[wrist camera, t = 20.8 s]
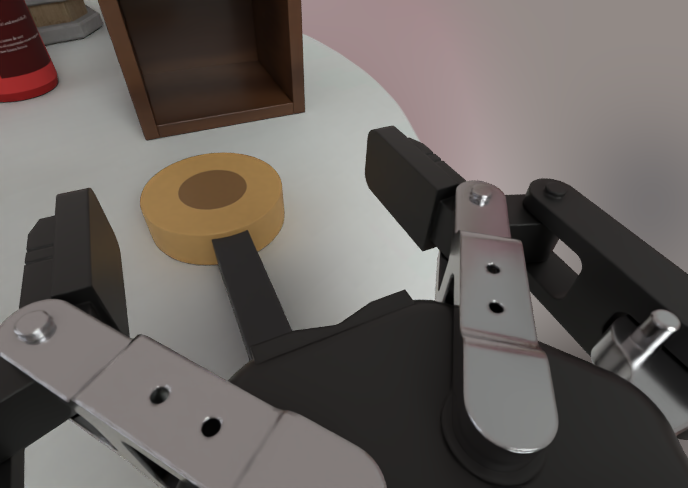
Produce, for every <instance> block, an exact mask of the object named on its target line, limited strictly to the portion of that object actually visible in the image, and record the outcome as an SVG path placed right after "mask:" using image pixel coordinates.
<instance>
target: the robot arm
mask: <svg viewBox="0 0 688 488" xmlns="http://www.w3.org/2000/svg"><path fill="white" fill-rule="evenodd" d="M365 178H366V182H367V185H368V187H369V189H370V190H371V191H372V192H373V194H374V195H375V196H376V197H377V198H378V199H379V201H380V202H381V203H382V204H383V205H384V207H385V208H386V209H387V210H388V211H389V212H390V214H391V215H392V216H393V217H394V218H395V219H396V221H397V222H398V223H399V224H400V225H401V227H402V228H403V229H404V230H405V231H406V232H407V234H408V235H409V236H410V237H411V238H412V240H413V241H414V242H415V243H416V244H417V245H418V247H419V248H420V249H421V250H422V251H425V250H428V249H431V248H434V247H437V248H438V249H439V253H438V257H437V271H436V287H435V301H433V300H412V298H411V297H410V296H409V294H408V293H407V292H406V290H402V291H400V292H397V293H394V294H391V295H389V296H386V297H383V298H381V299H378V300H375V301H372V302H370V303H369V304H367V305H366V306H364V307H363V308H361V309H360V310H358V311H357V312H356V313H354V314H353V315H351V316H350V317H348V318H347V319H345V320H344V321H342V322H341V323H339V324H337V325H333V326H325V327H318V328H310V329H303V330H295V331H290V332H288V333H285V334H282V335H280V336H277V337H274V338H271V339H269V340H266V341H263V342H260V343H258V344H255V345H252V346H250V349H251V353H252V357H253V359H252V360H251V361H250V362H248V363H247V364H245V365H244V366H243V367H242V368H240V369H239V370H238V371H237V372H236V373H235V374H234V375H233V376H232V377H231V378H230V379H229V380H228V381H226V380H225V379H223V378H221V377H219V376H218V375H216V374H214V373H212V372H210V371H209V370H207V369H205V368H203V367H202V366H200V365H198V364H196V363H194V362H193V361H191V360H189V359H187V358H186V357H184V356H182V355H180V354H178V353H177V352H175V351H173V350H171V349H170V348H168V347H166V346H164V345H162V344H161V343H159V342H157V341H155V340H153V339H152V338H150V337H148V336H145V335H142V334H139V335H137V336H136V337H135V338H134V339H132V338H130V336H129V327H128V317H127V308H126V299H125V289H124V280H123V271H122V262H121V253H120V249H119V245H118V242H117V239H116V236H115V234H114V232H113V230H112V228H111V226H110V224H109V222H108V220H107V217H106V215H105V213H104V211H103V209H102V207H101V205H100V203H99V201H98V199H97V197H96V195H95V193H94V192H93V190H92V189H91V188H86V189H81V190H76V191H72V192H67V193H62V194H58V195H57V196H56V208H55V216H51V217H47V218H42V219H39V221H38V222H37V223H36V225H35V226H34V227H33V229H32V230H31V231H30V233H29V234H28V240H27V248H26V250H27V253H26V257H25V264H26V265H24V273H23V281H22V289H21V297H20V305H19V310H17V311H16V312H14V313H13V314H12V315H10V316H9V317H8V318H7V319H6V320H5V321H4V322H3V323H2V324H1V325H0V488H24V452H25V448H26V447H27V446H29V445H30V444H32V443H33V442H35V441H36V440H38V439H39V438H41V437H42V436H44V435H45V434H47V433H48V432H50V431H51V430H53V429H54V428H56V427H57V426H59V425H60V424H62V423H63V422H65V421H66V420H68V419H69V420H70V421H71V422H73V423H74V424H76V425H77V426H79V427H80V428H81V429H83V430H84V431H86V432H87V433H88V434H90V435H91V436H93V437H94V438H95V439H97V440H98V441H100V442H101V443H102V444H104V445H105V446H107V447H108V448H110V449H111V450H112V451H114V452H115V453H117V454H118V455H119V456H121V457H122V458H124V459H125V460H126V461H127V462H129V463H130V464H131V465H132V466H134V467H135V468H136V469H137V470H138V471H140V472H141V473H142V474H143V475H145V476H146V477H147V478H148V479H150V480H151V481H152V482H154V483H155V484H157V485H158V486H159V487H161V488H688V458H687V456H686V454H685V453H684V451H683V449H682V447H681V445H680V443H679V440H678V439H683V440H688V274H687V273H686V272H684V271H683V270H682V269H680V268H679V267H678V266H676V265H675V264H674V263H672V262H671V261H670V260H668V259H667V258H666V257H664V256H663V255H662V254H660V253H659V252H658V251H656V250H655V249H654V248H652V247H651V246H650V245H648V244H647V243H646V242H644V241H643V240H642V239H640V238H639V237H638V236H636V235H635V234H634V233H632V232H631V231H630V230H628V229H627V228H626V227H624V226H623V225H622V224H620V223H619V222H618V221H616V220H615V219H614V218H612V217H611V216H610V215H608V214H607V213H606V212H604V211H603V210H601V208H599V207H598V206H597V205H595V204H594V203H593V202H591V201H590V200H589V199H587V198H586V197H584V196H583V195H582V194H581V193H579V192H578V191H577V190H575V189H574V188H573V187H571V186H570V185H568V184H565V183H563V182H561V181H557V180H554V179H537V180H535V181H533V182H532V183H531V184H530V186H529V188H528V190H527V193H526V194H523V195H504V193H503V192H502V191H501V190H500V189H499V188H497V187H496V186H494V185H492V184H489V183H486V182H483V181H466V180H465V179H464V178H462V177H461V176H460V175H459V174H458V173H457V172H455V171H454V170H453V169H452V168H451V167H450V166H448V165H447V164H446V163H445V162H444V161H441V159H440V158H439V157H438V156H437V155H436V154H433V152H432V151H431V150H430V149H429V148H428V147H426V146H425V145H424V144H423V143H420V142H418V141H416V140H414V139H412V138H407V137H406V136H405V135H404V134H403V133H402V132H400V131H399V130H398V129H397V128H396V127H395V126H388V127H383V128H378V129H373V130H371V131H370V132H369V134H368V140H367V152H366V165H365ZM559 239H561V240H562V241H563V242H564V243H565V244H566V245H567V246H568V247H570V248H571V249H572V250H573V251H574V252H575V253H576V254H577V255H578V256H579V258H580V259H581V262H582V270H581V273H580V274H579V275H578V274H577V273H575V272H574V271H573V270H572V269H571V268H570V267H569V266H568V265H567V264H566V263H565V262H564V261H563V260H562V259H560V258H559V257H558V256H557V255H556V254H555V253H554V252H553V249H554V247H555V245H556V243H557V242H558V240H559ZM530 292H531V293H532V294H533V295H534V296H535V297H536V298H537V299H538V300H539V301H540V303H541V304H542V305H544V307H545V308H546V309H547V310H548V311H549V312H550V313H551V314H552V315H553V317H554V318H555V319H556V320H557V321H558V322H559V323H560V324H561V325H562V326H563V327H564V328H565V330H567V332H568V333H569V334H570V335H571V336H572V337H573V338H574V339H575V340H576V341H577V343H578V344H580V346H581V347H582V348H583V349H584V350H585V351H586V352H587V353H588V354H589V355H590V357H591V359H592V362H593V364H592V363H590V362H587V361H585V360H582V359H580V358H578V357H575V356H573V355H571V354H568V353H566V352H563V351H561V350H559V349H556V348H554V347H551V346H549V345H547V344H544V343H542V342H539V341H538V340H537V334H536V327H535V321H534V315H533V308H532V302H531V297H530Z"/></svg>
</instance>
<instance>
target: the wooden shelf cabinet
mask: <svg viewBox="0 0 688 488" xmlns="http://www.w3.org/2000/svg"><path fill="white" fill-rule="evenodd" d="M98 3H99V5H100V8H101V11H102V14H103V17H104V20H105V23H106V26H107V29H108V32H109V35H110V37H111V40H112V43H113V46H114V49H115V52H116V55H117V58H118V61H119V64H120V66H121V69H122V72H123V75H124V78H125V81H126V84H127V87H128V90H129V93H130V96H131V98H132V101H133V104H134V107H135V110H136V113H137V116H138V119H139V122H140V125H141V128H142V130H143V133H144V136H145V139H146V140H150V139H156V138H160V137H167V136H172V135H178V134H184V133H189V132H195V131H200V130H206V129H212V128H217V127H223V126H229V125H234V124H240V123H245V122H251V121H257V120H262V119H268V118H273V117H279V116H285V115H290V114H296V113H302V112H305V97H304V69H303V40H302V12H301V0H98Z"/></svg>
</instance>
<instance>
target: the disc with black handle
mask: <svg viewBox="0 0 688 488" xmlns="http://www.w3.org/2000/svg"><path fill="white" fill-rule="evenodd" d="M140 207H141V210H142V213H143V215H144V218H145V220H146V223H147V225H148V228H149V230H150V232H151V235H152V237H153V240H154V242H155V243H156V245H157V246H158V247H159V249H160V250H161V251H163V252H164V253H165V254H166V255H168V256H170V257H172V258H173V259H176V260H179V261H181V262H185V263H190V264H197V265H217V264H218V266H219V269H220V272H221V275H222V278H223V281H224V284H225V287H226V290H227V293H228V296H229V299H230V302H231V305H232V308H233V311H234V314H235V317H236V320H237V323H238V326H239V329H240V332H241V335H242V338H243V341H244V344H245V347H246V350H247V353H248V356H249V359H250V361H251V360H252V359H253V357H252V353H251V349H250V346H252V345H255V344H258V343H260V342H263V341H266V340H269V339H271V338H274V337H277V336H280V335H282V334H285V333H288V332H290V331H292V330H291V327H290V325H289V323H288V320H287V318H286V316H285V314H284V311H283V309H282V307H281V304H280V302H279V300H278V298H277V295H276V293H275V291H274V288H273V286H272V284H271V282H270V279H269V277H268V275H267V272H266V270H265V268H264V266H263V263H262V261H261V259H260V256H259V254H258V251H260V250H261V249H263V248H264V247H265V246H267V245H268V244H269V243H270V242H271V241H272V240H273V239H274V238H275V237H276V236H277V235H278V233H279V231H280V230H281V227H282V225H283V222H284V203H283V192H282V183H281V179H280V177H279V175H278V173H277V172H276V171H275V170H274V169H273V168H272V167H271V166H270V165H269V164H267V163H266V162H264V161H262V160H260V159H257V158H255V157H252V156H248V155H243V154H237V153H210V154H203V155H198V156H194V157H190V158H187V159H183V160H181V161H178V162H176V163H174V164H172V165H169V166H168V167H166V168H164V169H163V170H161V171H160V172H158V173H157V174H156V175H155V176H153V177H152V178H151V179H150V180H149V182H148V183H147V184H146V186H145V187H144V189H143V191H142V194H141V198H140Z"/></svg>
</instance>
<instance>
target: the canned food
mask: <svg viewBox="0 0 688 488" xmlns="http://www.w3.org/2000/svg"><path fill="white" fill-rule="evenodd" d="M57 84H58V78H57V72H56V69H55V67H54V65H53V63H52V61H51V58H50V56H49V54H48V52H47V49H46V47H45V45H44V43H43V40H42V38H41V36H40V34H39V32H38V29H37V27H36V25H35V23H34V20H33V18H32V16H31V14H30V12H29V9H28V7H27V5H26V3H25V0H0V102H14V101H21V100H26V99H30V98H34V97H37V96H40V95H43V94H45V93H47V92H49V91H51V90H52V89H54V88H55V87H56V85H57Z"/></svg>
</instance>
